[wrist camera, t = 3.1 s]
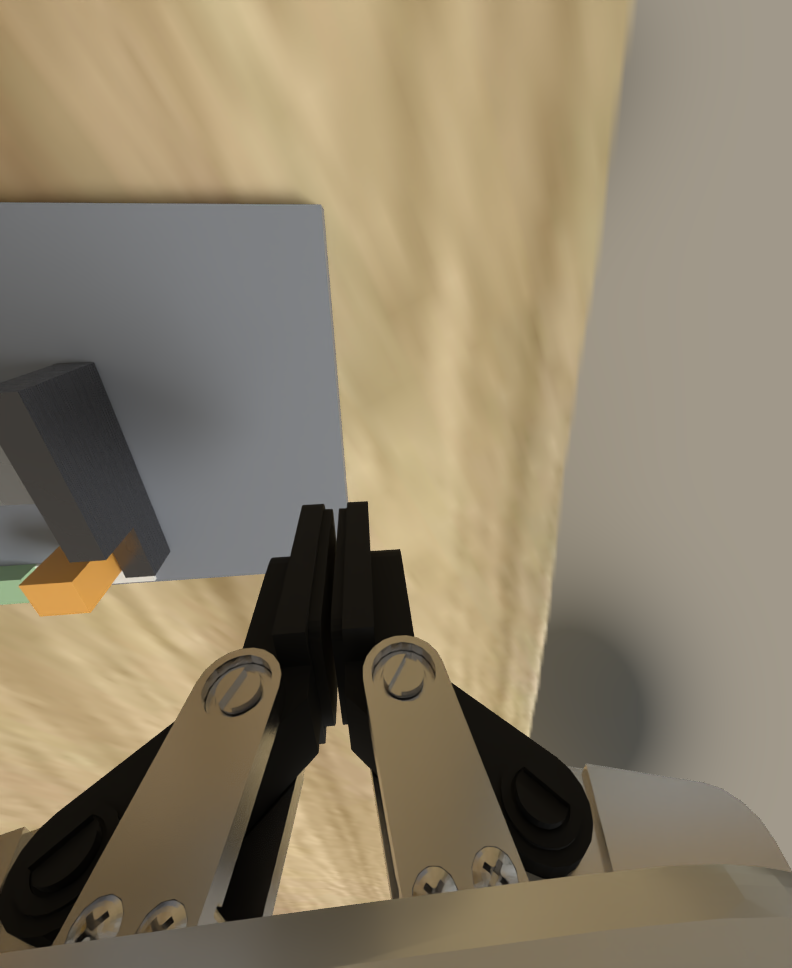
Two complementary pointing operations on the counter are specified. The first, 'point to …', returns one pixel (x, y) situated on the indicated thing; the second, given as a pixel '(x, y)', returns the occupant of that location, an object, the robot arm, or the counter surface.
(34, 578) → the orange block
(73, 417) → the plunger
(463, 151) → the counter surface
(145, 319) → the board
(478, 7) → the counter surface
